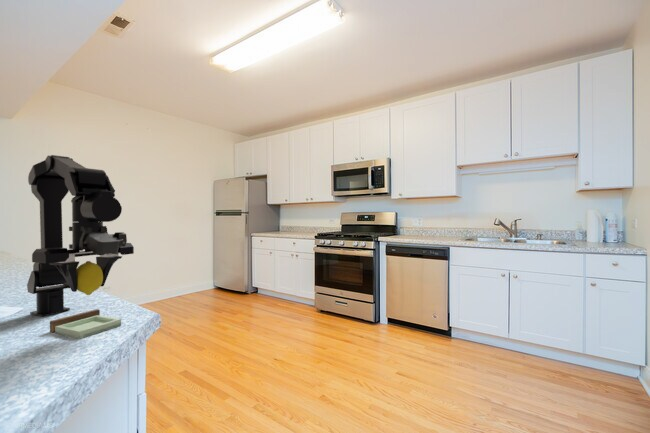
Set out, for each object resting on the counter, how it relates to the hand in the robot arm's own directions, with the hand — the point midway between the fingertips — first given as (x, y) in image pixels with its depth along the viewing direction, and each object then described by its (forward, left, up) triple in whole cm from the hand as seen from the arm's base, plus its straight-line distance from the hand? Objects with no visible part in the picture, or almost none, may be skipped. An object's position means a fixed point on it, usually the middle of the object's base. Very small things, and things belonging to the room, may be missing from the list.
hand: (88, 288), depth 73 cm
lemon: (0, 0, -2) cm, 2 cm away
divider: (-6, 0, -9) cm, 11 cm away
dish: (0, 0, -9) cm, 9 cm away
